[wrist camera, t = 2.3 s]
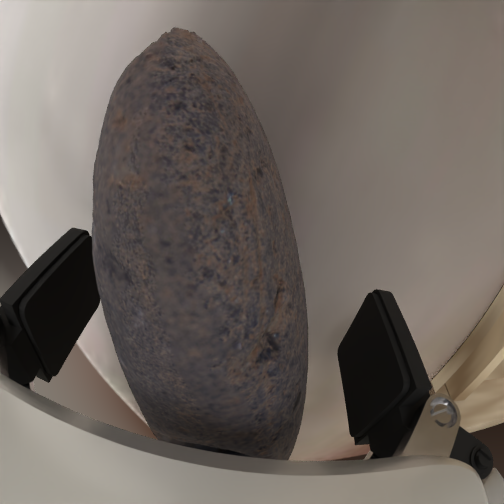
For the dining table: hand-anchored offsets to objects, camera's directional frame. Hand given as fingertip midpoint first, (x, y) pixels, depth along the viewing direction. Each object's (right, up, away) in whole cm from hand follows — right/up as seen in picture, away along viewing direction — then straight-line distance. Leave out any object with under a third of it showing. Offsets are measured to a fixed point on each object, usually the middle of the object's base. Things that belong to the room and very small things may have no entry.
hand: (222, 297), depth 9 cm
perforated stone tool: (0, +1, +2) cm, 2 cm away
